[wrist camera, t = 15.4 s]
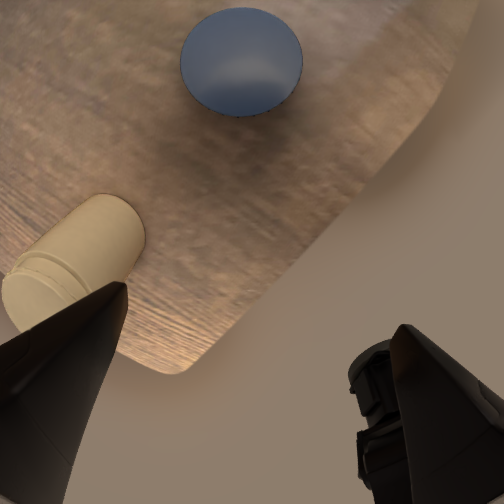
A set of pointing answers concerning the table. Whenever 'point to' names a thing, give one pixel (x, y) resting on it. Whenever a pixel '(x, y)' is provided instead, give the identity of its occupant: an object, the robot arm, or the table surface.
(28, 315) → the jar
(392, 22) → the table surface
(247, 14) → the lid
